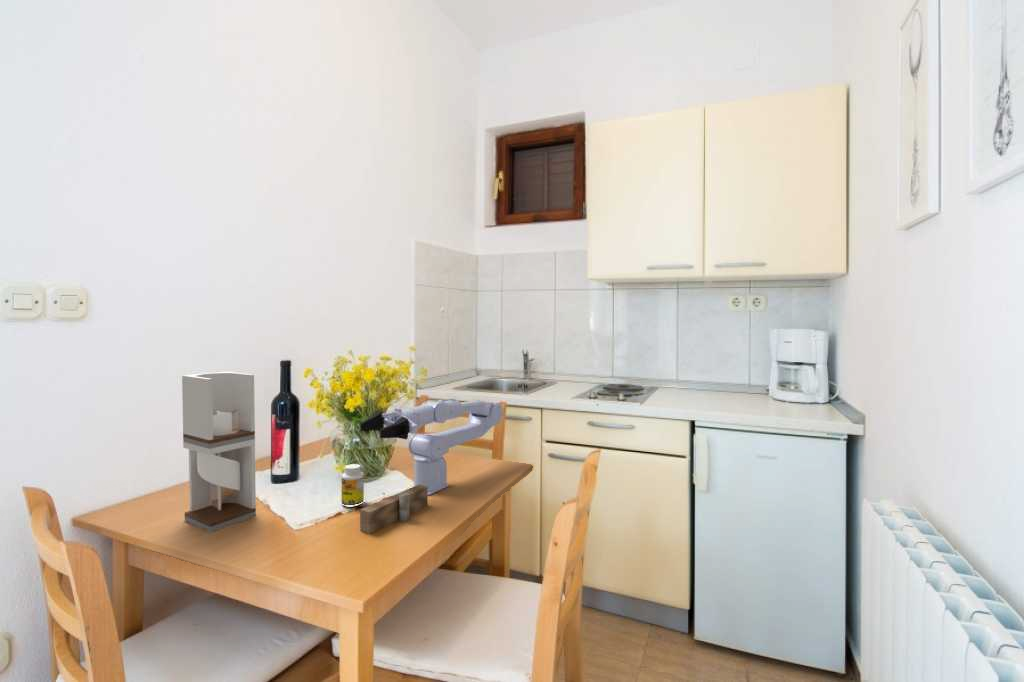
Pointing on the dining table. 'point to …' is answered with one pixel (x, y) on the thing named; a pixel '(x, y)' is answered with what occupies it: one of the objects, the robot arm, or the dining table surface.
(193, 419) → the white tower model
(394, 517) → the stop bar
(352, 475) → the supplement bottle
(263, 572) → the dining table surface
